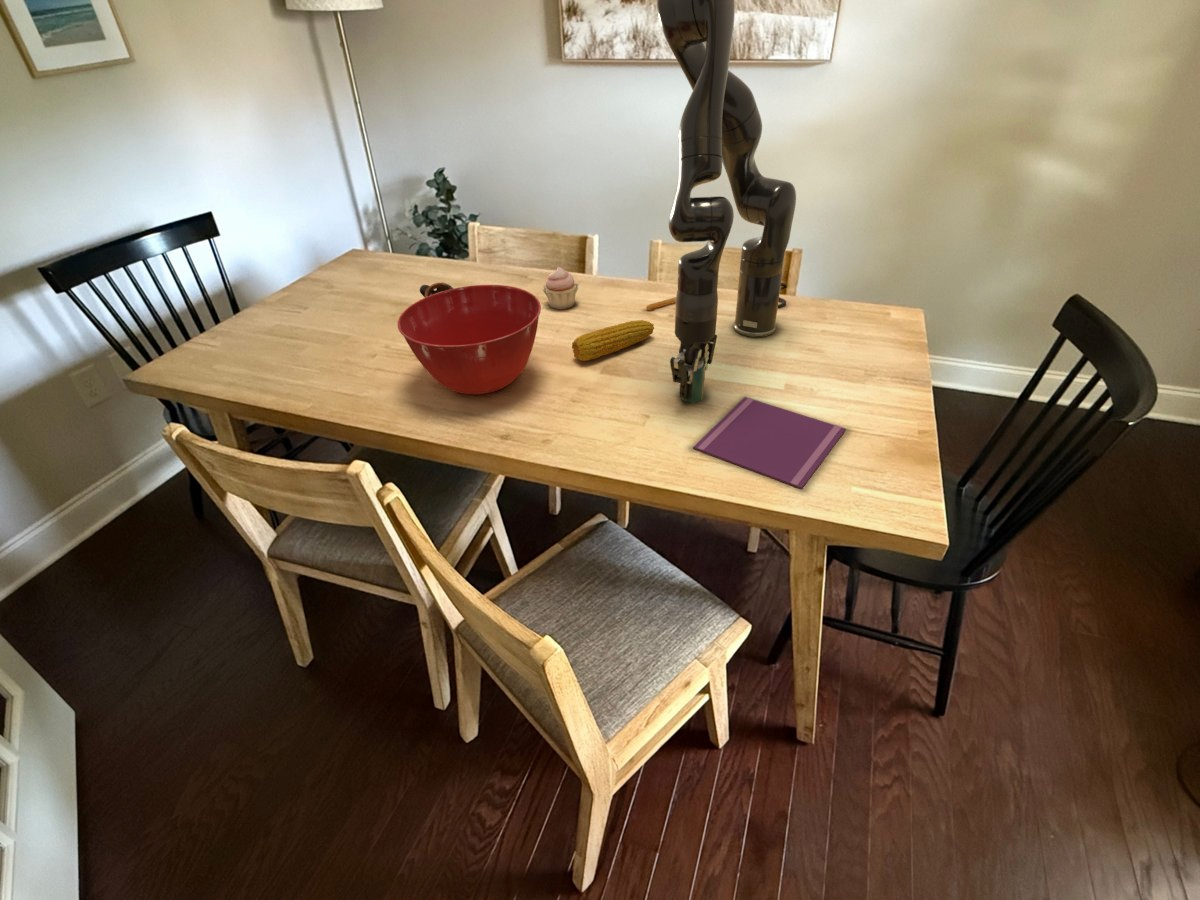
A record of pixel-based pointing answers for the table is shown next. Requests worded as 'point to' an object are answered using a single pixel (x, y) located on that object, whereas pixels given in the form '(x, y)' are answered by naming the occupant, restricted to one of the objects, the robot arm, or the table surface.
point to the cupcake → (560, 289)
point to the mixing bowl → (473, 335)
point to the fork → (660, 303)
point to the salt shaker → (697, 382)
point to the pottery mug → (429, 290)
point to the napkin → (771, 441)
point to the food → (610, 339)
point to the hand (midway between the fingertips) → (692, 391)
